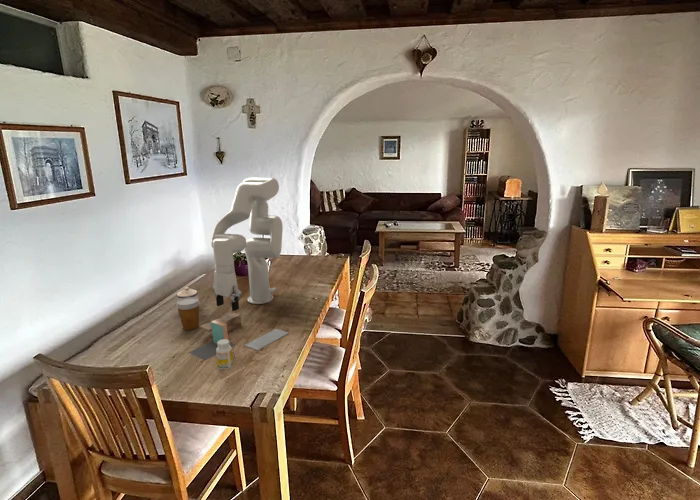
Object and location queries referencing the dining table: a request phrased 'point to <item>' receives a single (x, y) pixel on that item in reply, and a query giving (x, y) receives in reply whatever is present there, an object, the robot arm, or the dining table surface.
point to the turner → (225, 322)
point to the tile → (219, 331)
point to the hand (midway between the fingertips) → (227, 307)
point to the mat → (206, 350)
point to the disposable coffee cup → (189, 312)
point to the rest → (266, 339)
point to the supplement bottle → (224, 354)
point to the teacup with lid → (187, 293)
